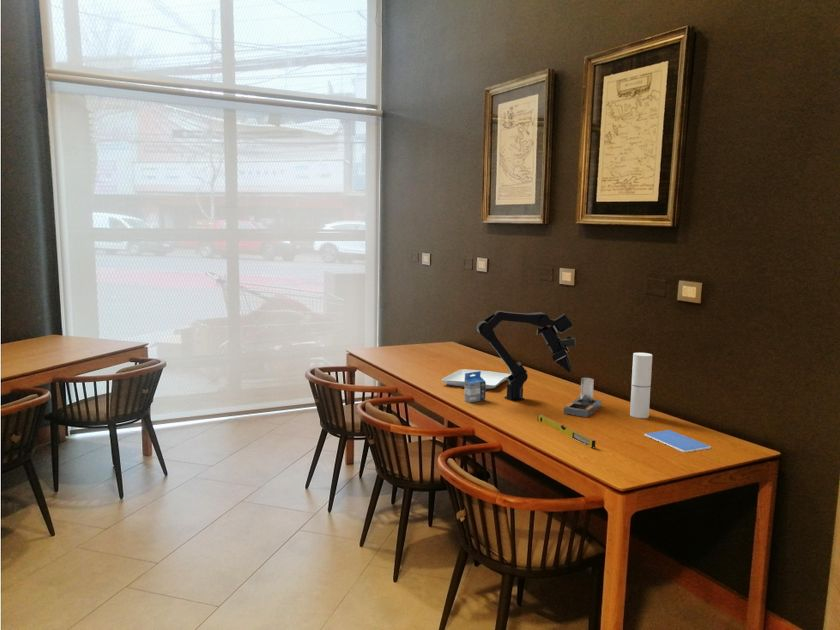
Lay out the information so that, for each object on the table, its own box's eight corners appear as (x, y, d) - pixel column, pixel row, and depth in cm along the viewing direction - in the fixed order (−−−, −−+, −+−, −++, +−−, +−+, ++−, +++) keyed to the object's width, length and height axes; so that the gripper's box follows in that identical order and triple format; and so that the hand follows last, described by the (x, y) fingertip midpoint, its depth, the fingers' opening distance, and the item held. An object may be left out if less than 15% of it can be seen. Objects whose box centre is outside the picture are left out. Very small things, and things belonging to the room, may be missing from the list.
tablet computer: (712, 449, 211) (712, 446, 211) (684, 454, 206) (684, 450, 206) (669, 432, 229) (669, 429, 229) (642, 436, 224) (643, 433, 224)
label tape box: (469, 403, 264) (470, 375, 263) (463, 401, 268) (464, 373, 266) (485, 400, 269) (486, 372, 268) (479, 398, 273) (480, 370, 271)
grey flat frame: (586, 417, 245) (587, 410, 245) (563, 413, 250) (563, 407, 250) (601, 406, 262) (601, 399, 262) (579, 402, 267) (579, 396, 267)
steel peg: (586, 409, 257) (587, 381, 255) (577, 406, 261) (578, 378, 259) (595, 407, 259) (596, 379, 258) (586, 404, 263) (587, 377, 262)
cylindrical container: (636, 418, 244) (640, 356, 241) (626, 413, 251) (629, 352, 248) (652, 417, 246) (656, 355, 243) (641, 412, 253) (645, 352, 250)
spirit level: (537, 421, 240) (537, 414, 240) (540, 421, 241) (540, 413, 240) (591, 449, 210) (592, 440, 209) (595, 449, 210) (595, 440, 210)
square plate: (512, 380, 308) (512, 373, 307) (495, 393, 283) (495, 384, 282) (461, 375, 319) (461, 367, 318) (440, 386, 294) (440, 378, 294)
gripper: (567, 331, 258) (587, 364, 256) (569, 328, 276) (587, 358, 274) (544, 344, 261) (563, 376, 259) (547, 340, 279) (564, 370, 277)
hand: (570, 370), depth 267 cm, fingers open, 9 cm apart
